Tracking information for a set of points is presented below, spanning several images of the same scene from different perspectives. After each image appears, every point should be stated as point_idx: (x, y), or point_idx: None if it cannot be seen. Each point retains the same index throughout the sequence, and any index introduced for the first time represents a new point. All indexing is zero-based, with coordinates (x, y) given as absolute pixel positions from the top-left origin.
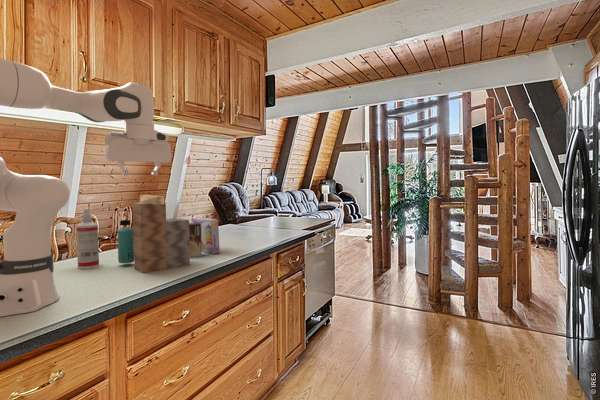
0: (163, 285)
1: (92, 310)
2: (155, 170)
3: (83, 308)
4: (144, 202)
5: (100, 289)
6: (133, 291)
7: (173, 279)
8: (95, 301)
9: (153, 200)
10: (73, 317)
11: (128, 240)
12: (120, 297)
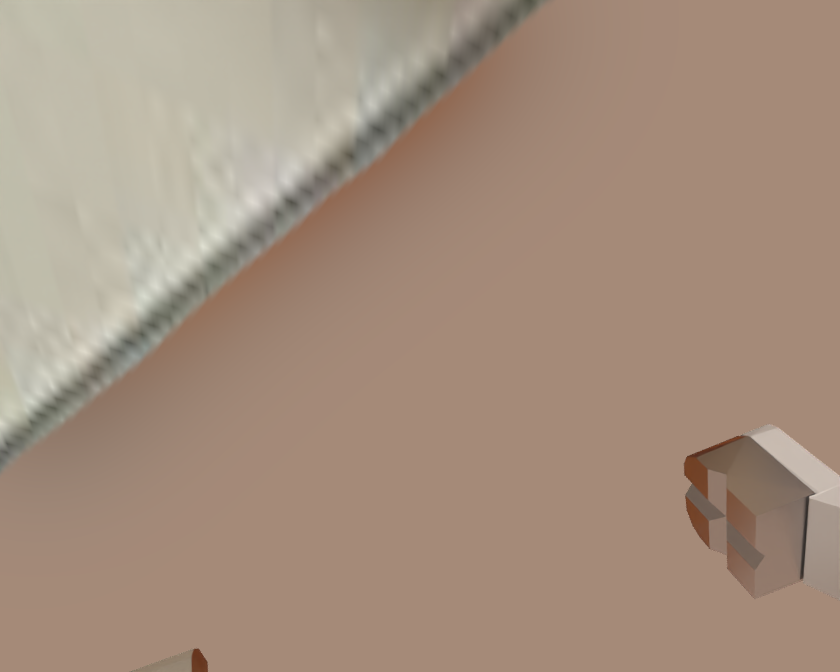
0: (370, 150)
1: (70, 394)
2: (810, 559)
3: (20, 358)
4: None
5: (23, 69)
6: (221, 192)
7: (433, 51)
8: (51, 281)
9: None
10: (10, 447)
11: None
12: (166, 265)
